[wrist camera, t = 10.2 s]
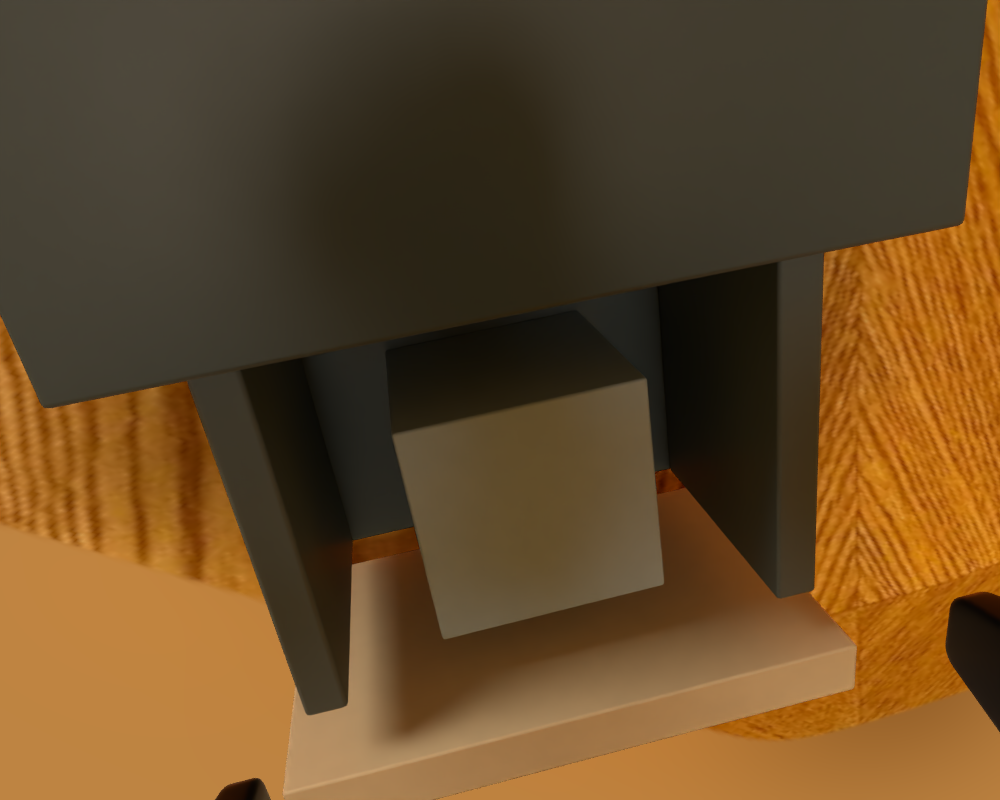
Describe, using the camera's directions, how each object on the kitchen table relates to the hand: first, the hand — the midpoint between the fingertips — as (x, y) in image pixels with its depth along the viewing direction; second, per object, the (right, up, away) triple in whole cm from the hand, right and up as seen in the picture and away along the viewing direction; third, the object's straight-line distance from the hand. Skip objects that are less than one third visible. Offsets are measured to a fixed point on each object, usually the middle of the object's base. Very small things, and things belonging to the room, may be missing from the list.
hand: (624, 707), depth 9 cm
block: (-2, +3, +9) cm, 9 cm away
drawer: (-2, +4, +9) cm, 11 cm away
